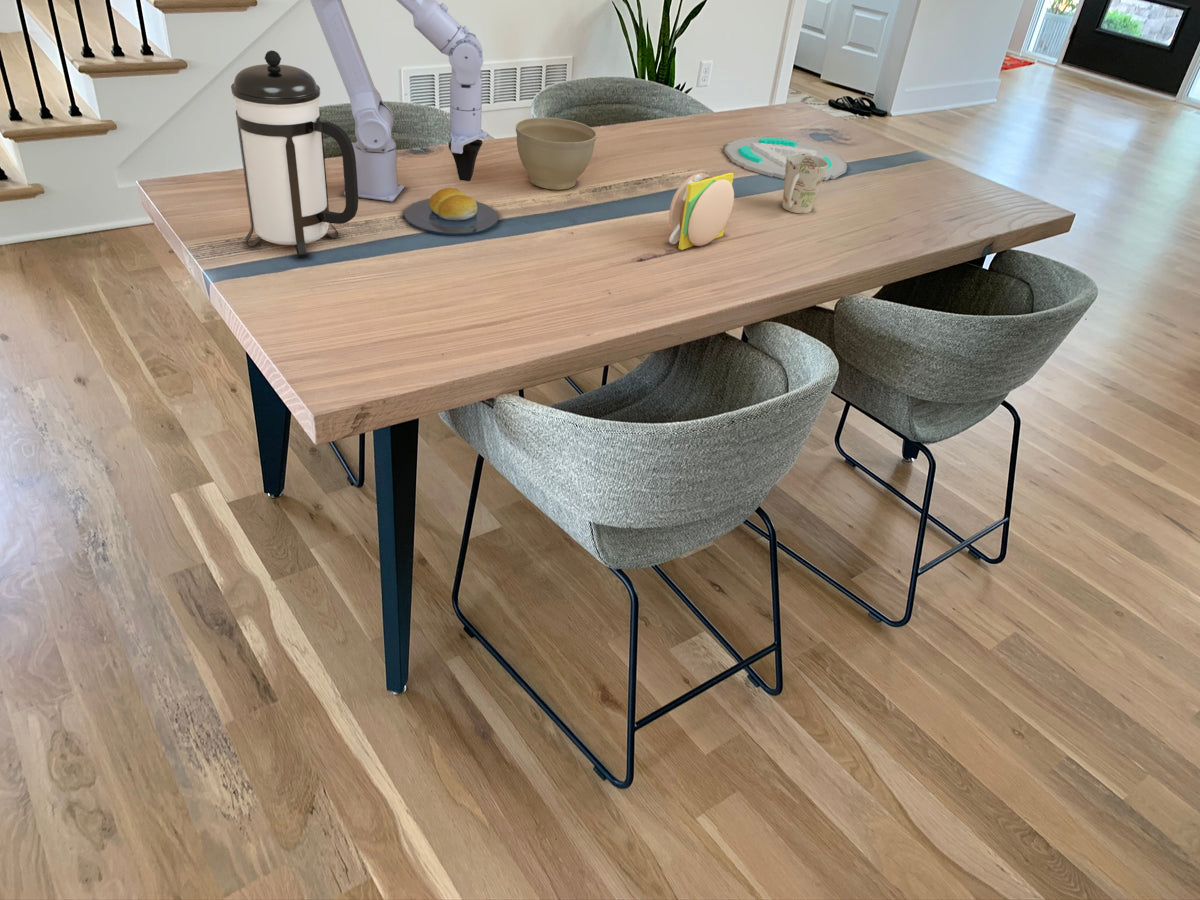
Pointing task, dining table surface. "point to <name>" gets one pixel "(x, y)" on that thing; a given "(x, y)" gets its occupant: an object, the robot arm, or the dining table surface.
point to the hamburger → (701, 209)
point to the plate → (432, 223)
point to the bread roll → (453, 204)
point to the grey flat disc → (778, 155)
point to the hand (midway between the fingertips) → (465, 179)
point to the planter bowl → (554, 150)
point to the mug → (802, 181)
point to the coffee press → (288, 155)
